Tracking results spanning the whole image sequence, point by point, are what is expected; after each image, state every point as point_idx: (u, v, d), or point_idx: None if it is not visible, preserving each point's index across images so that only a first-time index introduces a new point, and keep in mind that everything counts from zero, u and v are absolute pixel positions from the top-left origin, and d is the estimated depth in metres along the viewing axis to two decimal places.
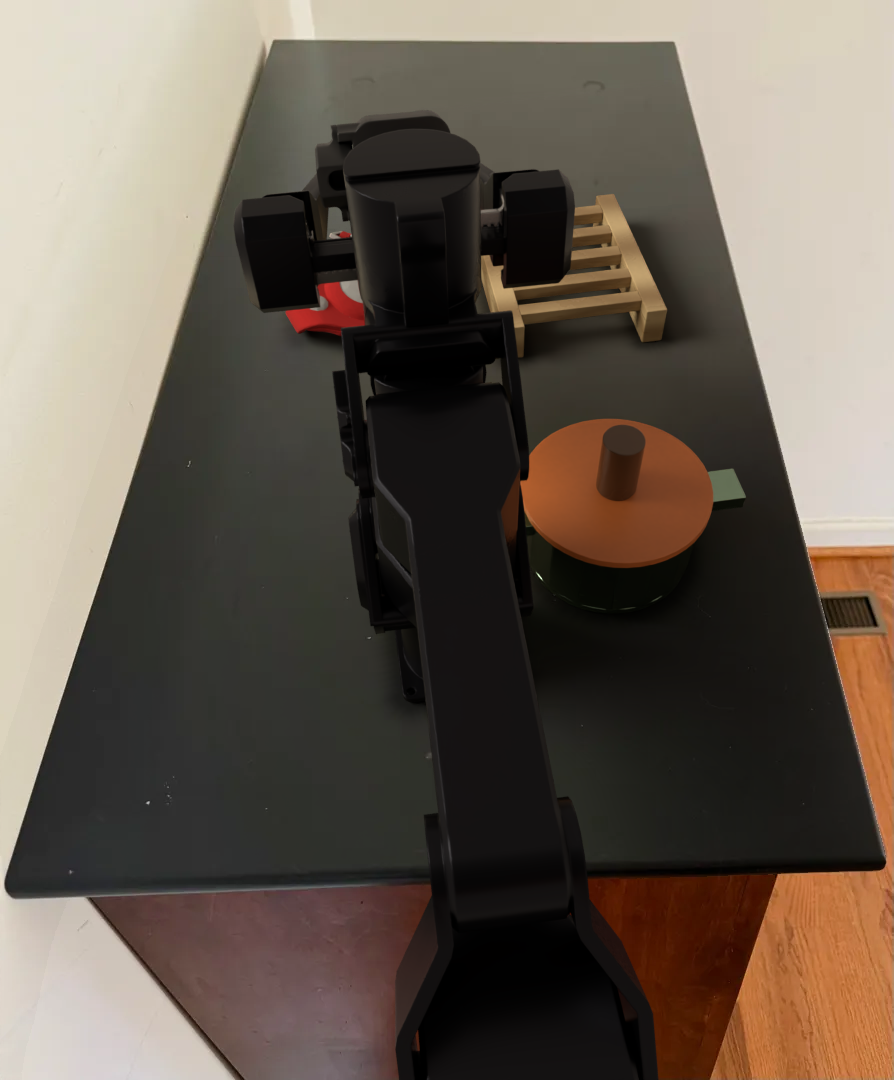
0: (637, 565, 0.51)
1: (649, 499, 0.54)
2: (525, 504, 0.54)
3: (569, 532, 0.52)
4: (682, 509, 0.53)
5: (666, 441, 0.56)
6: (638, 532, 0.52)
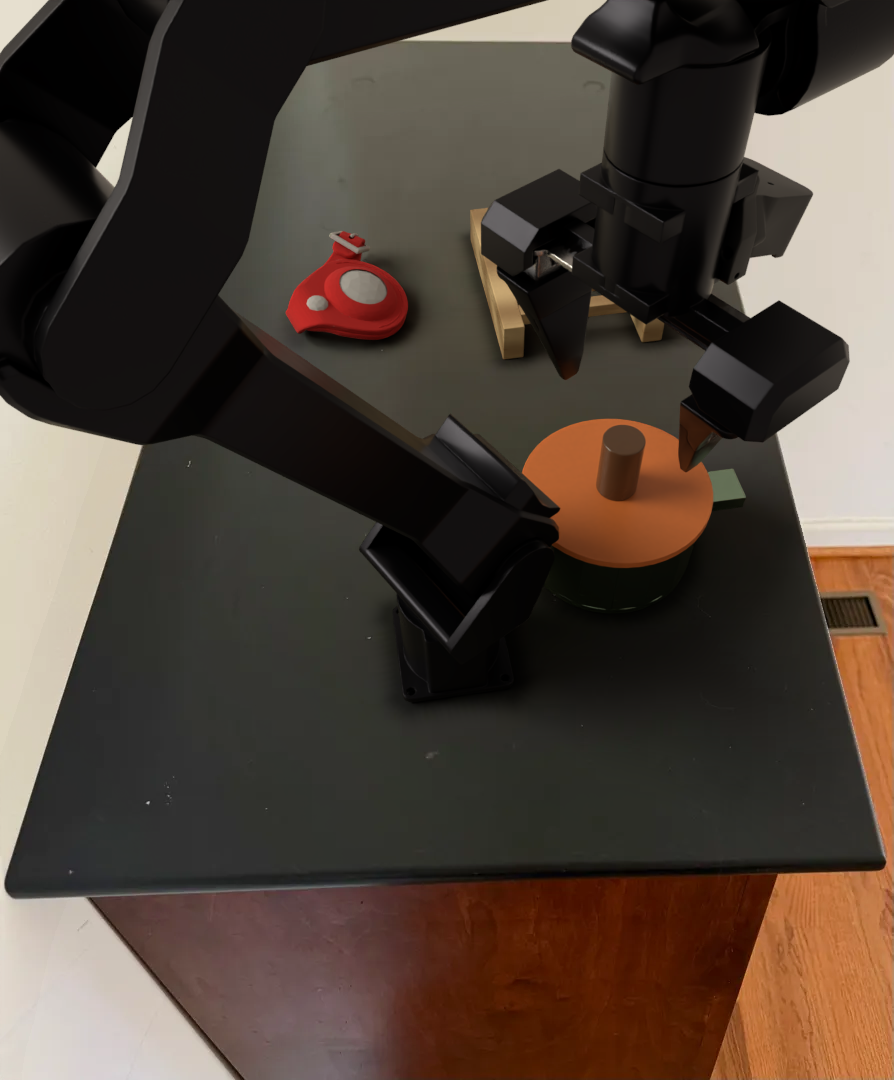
0: (637, 565, 0.51)
1: (649, 499, 0.54)
2: None
3: (569, 532, 0.52)
4: (682, 509, 0.53)
5: (666, 441, 0.56)
6: (638, 532, 0.52)
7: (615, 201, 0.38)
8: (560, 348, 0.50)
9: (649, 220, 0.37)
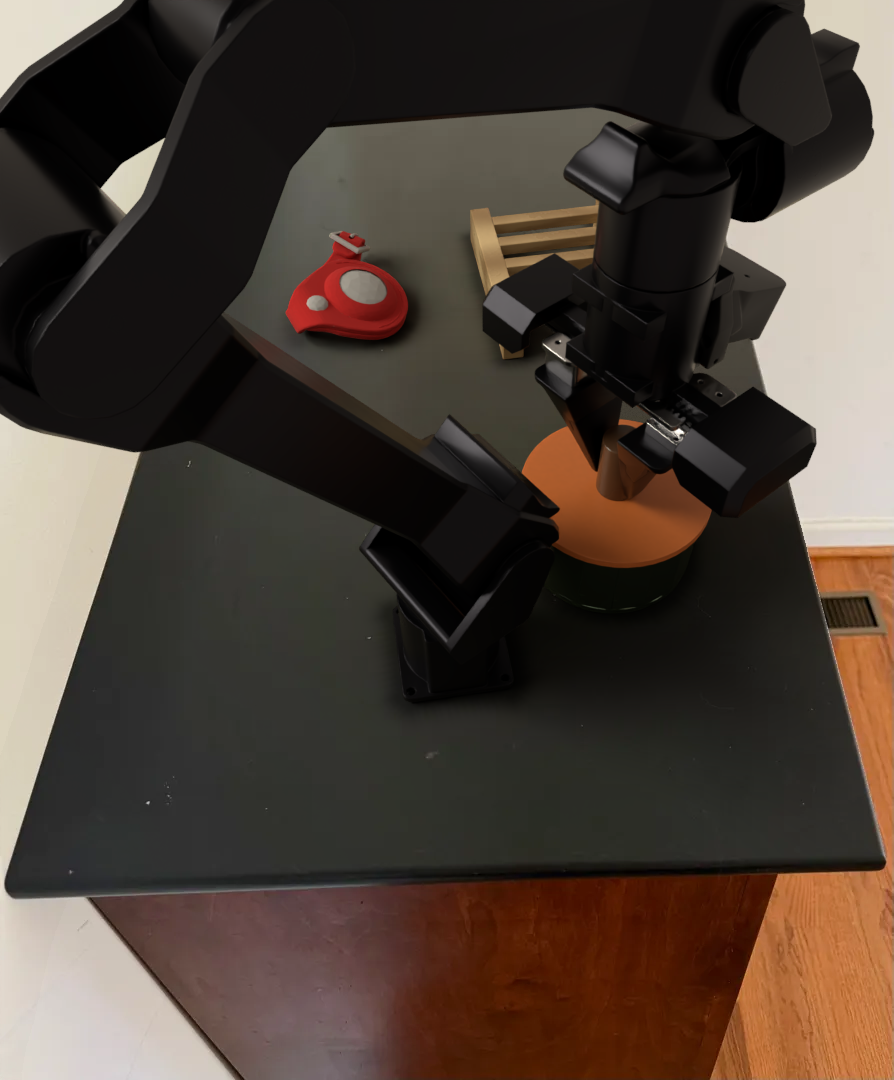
0: (637, 565, 0.51)
1: (649, 499, 0.54)
2: None
3: (569, 532, 0.52)
4: (682, 509, 0.53)
5: None
6: (638, 532, 0.52)
7: (604, 301, 0.42)
8: (593, 445, 0.52)
9: (634, 320, 0.41)
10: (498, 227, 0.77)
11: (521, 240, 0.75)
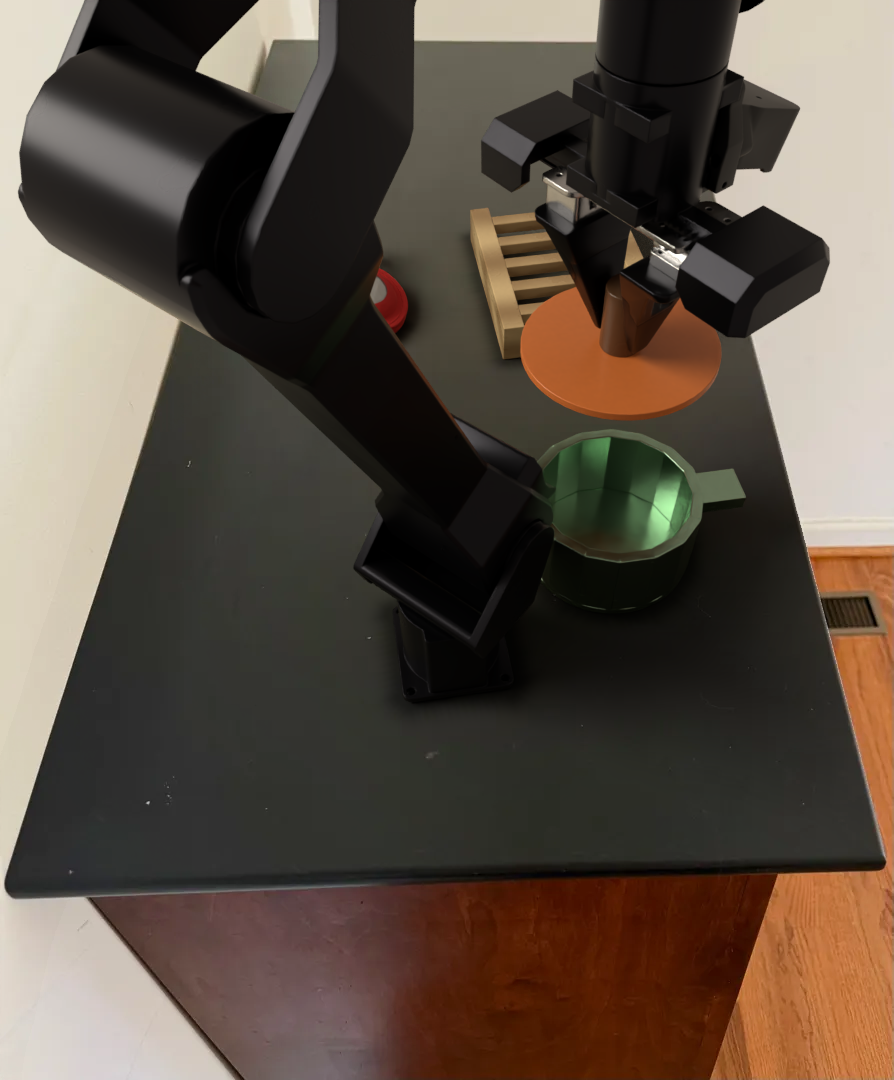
0: (641, 418, 0.49)
1: (654, 355, 0.51)
2: (525, 360, 0.52)
3: (570, 386, 0.50)
4: (689, 365, 0.51)
5: None
6: (642, 386, 0.50)
7: (606, 104, 0.39)
8: (596, 295, 0.50)
9: (637, 120, 0.38)
10: (498, 227, 0.77)
11: (521, 240, 0.75)
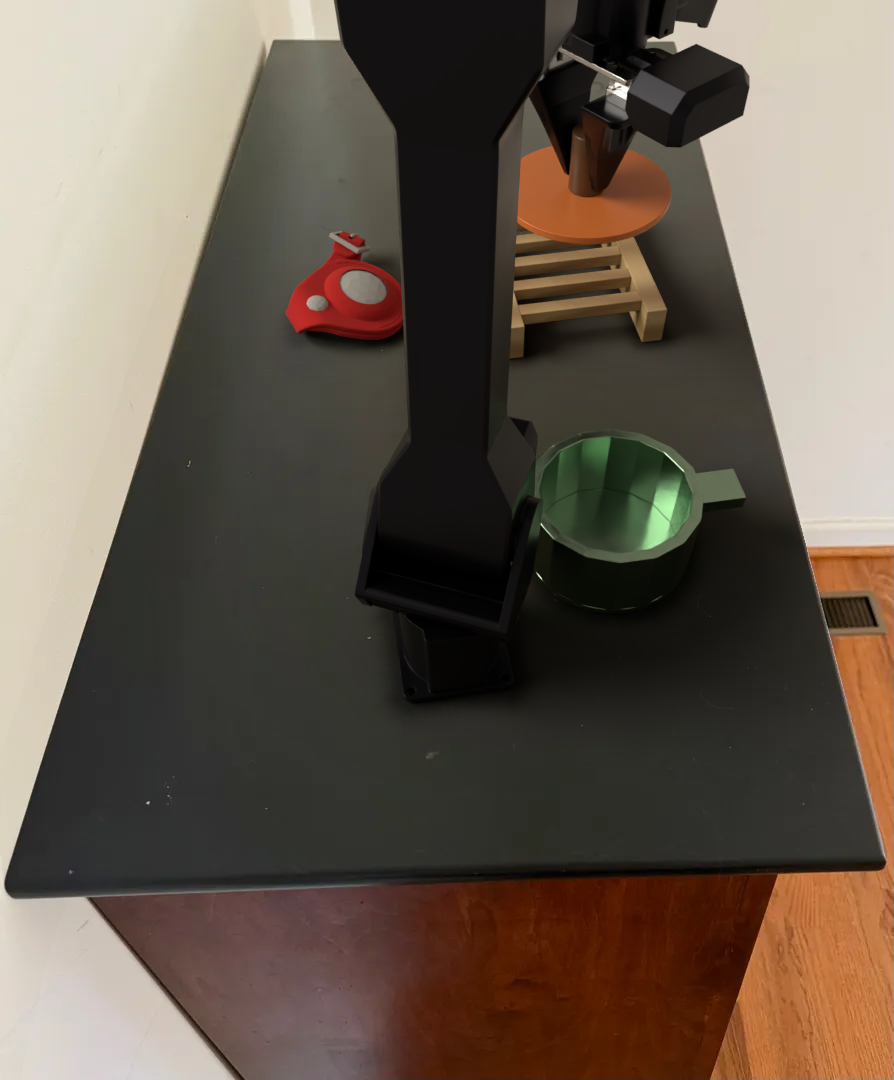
0: (602, 241, 0.58)
1: (615, 195, 0.61)
2: None
3: (543, 218, 0.60)
4: (643, 201, 0.60)
5: (631, 156, 0.64)
6: (604, 217, 0.59)
7: None
8: (564, 141, 0.59)
9: None
10: None
11: (521, 240, 0.75)
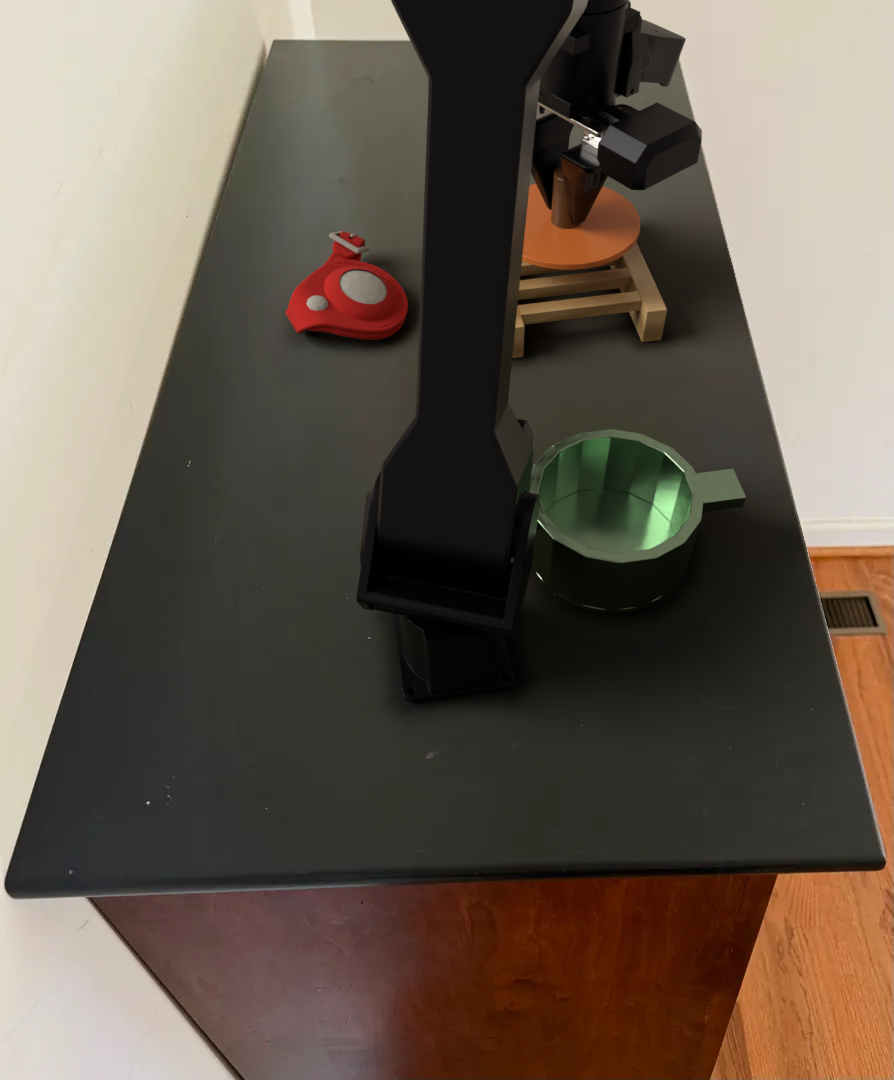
0: (580, 267, 0.67)
1: (591, 227, 0.70)
2: None
3: (529, 247, 0.69)
4: (616, 232, 0.69)
5: (606, 193, 0.73)
6: (581, 246, 0.68)
7: None
8: (547, 181, 0.68)
9: (567, 39, 0.57)
10: None
11: None
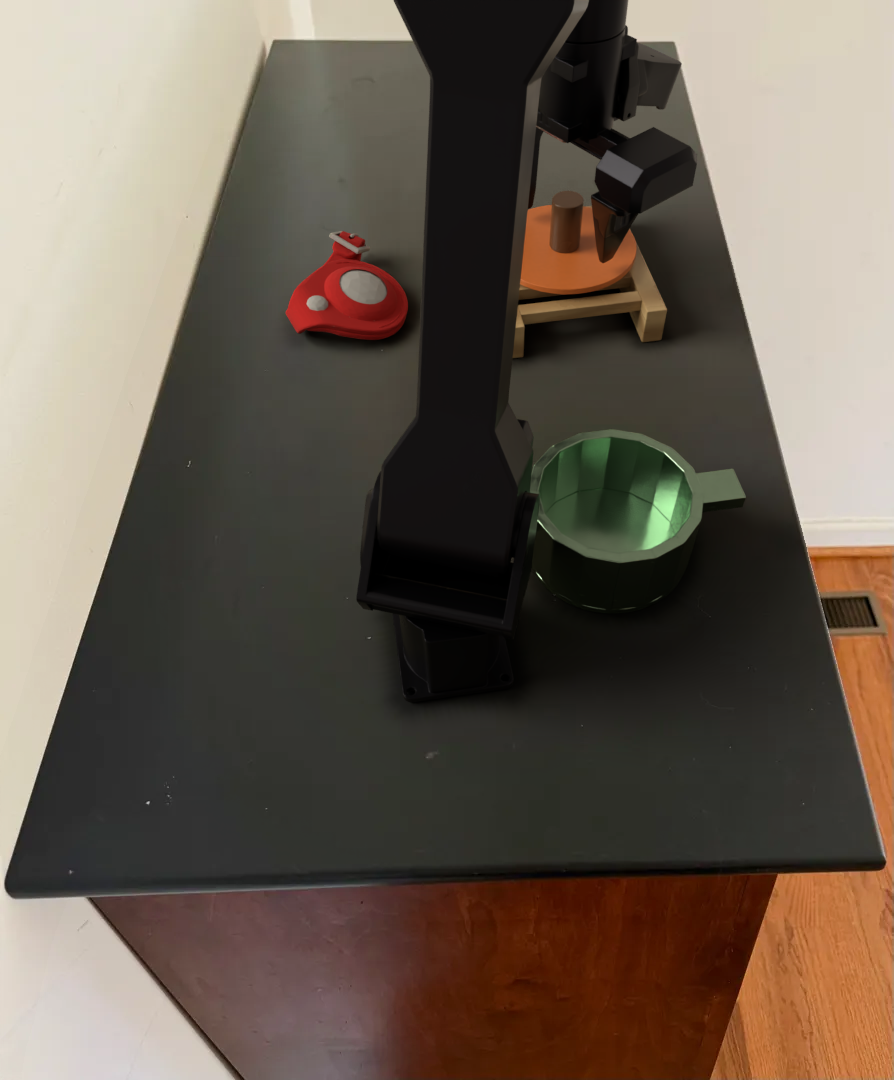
0: (578, 292, 0.69)
1: (588, 252, 0.72)
2: None
3: (528, 272, 0.70)
4: None
5: None
6: (579, 271, 0.70)
7: None
8: None
9: (565, 67, 0.58)
10: None
11: None
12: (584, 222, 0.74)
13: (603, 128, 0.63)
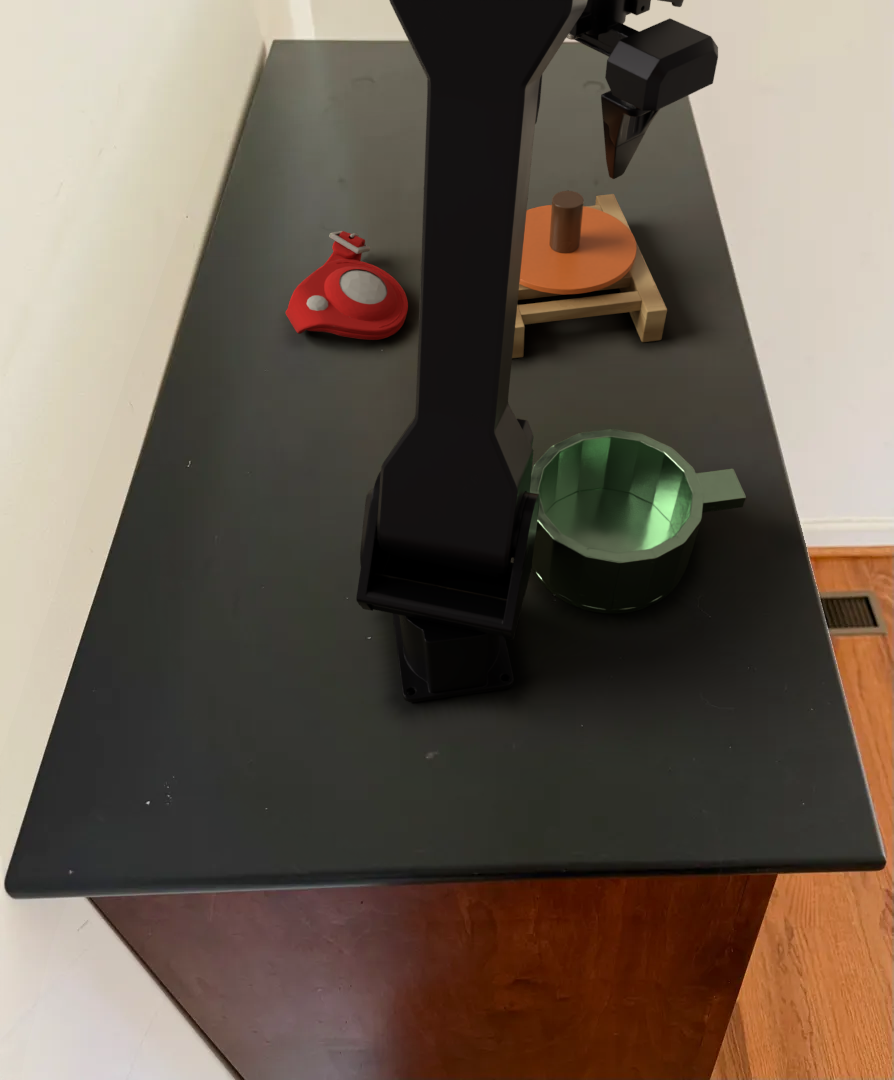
0: (578, 292, 0.69)
1: (588, 252, 0.72)
2: None
3: (528, 272, 0.70)
4: (612, 257, 0.71)
5: (603, 217, 0.74)
6: (579, 271, 0.70)
7: None
8: None
9: None
10: None
11: None
12: (584, 222, 0.74)
13: (614, 21, 0.57)
